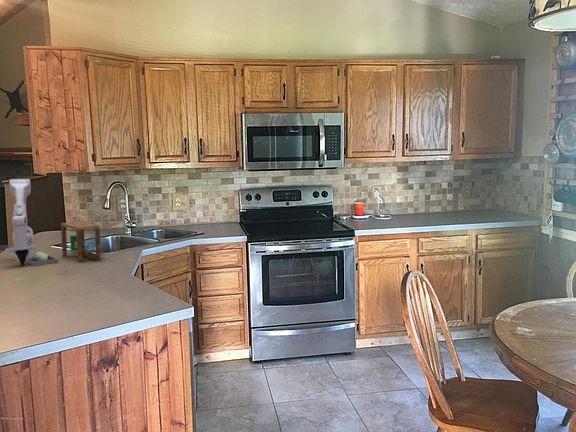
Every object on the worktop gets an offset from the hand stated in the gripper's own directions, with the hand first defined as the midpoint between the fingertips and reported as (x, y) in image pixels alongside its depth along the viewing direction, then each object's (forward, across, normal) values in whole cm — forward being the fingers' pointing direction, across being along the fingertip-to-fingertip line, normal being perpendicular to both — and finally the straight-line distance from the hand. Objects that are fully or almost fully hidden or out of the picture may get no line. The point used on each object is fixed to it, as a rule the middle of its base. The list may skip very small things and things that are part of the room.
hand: (22, 264), depth 262 cm
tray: (+1, +10, 0) cm, 10 cm away
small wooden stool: (+1, +30, -2) cm, 30 cm away
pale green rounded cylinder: (0, +10, +3) cm, 10 cm away
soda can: (+1, +36, +17) cm, 40 cm away
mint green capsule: (0, +10, -3) cm, 10 cm away
